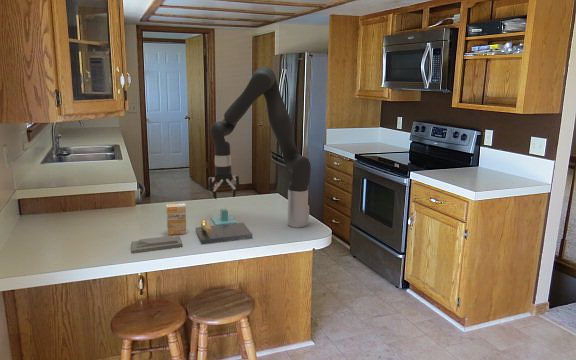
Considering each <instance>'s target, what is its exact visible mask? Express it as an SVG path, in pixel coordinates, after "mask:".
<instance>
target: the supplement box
mask: <svg viewBox="0 0 576 360" xmlns="http://www.w3.org/2000/svg"><path fill="white" fill-rule="evenodd" d="M186 208H187V207H186V203H184V202H183V203H167V204H166V228H167V230H166V231H167V236H174V235H175V236H176V235H186V234H187V211H186V210H187V209H186Z"/></svg>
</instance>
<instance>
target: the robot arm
mask: <svg viewBox="0 0 576 360" xmlns="http://www.w3.org/2000/svg"><path fill="white" fill-rule="evenodd" d="M262 95H263V96H264V99H265V102H266V112H267V118H268V123H269V125H270V127H271V130H272V131H273V134H274V136H275V139H276V141H277V144H278V146H279V148H280V151H281V153H282V158H283V162H284V164H285V165H284V166H285V167H286V169H287V170H288V172H289V173H291V181H290V182H289V183H288V185H287V225H288V226H289V227H291V228H305V227H307V226H309V225H310V205H309V204H308V203H309V201H308V199H309V185H310V182H311V171H312V170H311V169H312V167H311V166H312V165H311V161H310V159H309V158H308V157H306V156H304V155H302V154H300V152H299V150H298V147H297V146H296V143H295V131H294V129H295V128H294V125H293V122H292V119H291V116H290V114H289V112H288V109H287V107H286V104H285V102H284V99H283V97H282V94H281V92H280V88H279V84H278V81H277V77H276V73H275V72H274V70H273V69H272V68H270V67H269V66H265V65H264V66H263V65H262V66H260V67H259V68H257V69H256V70H255V71H254V72H253V74H252V75H251V78H250V80H249V82H248V83H247V85H246V86H245V88H244V90H243V91H242V92H241V93H240V95H239V96H238V97H237V98H236V99H235V100H234V101H233V102H232V103H231V105H230V106H229V107H228V108H227V109H226V111H225V112H224V114H223V118H224V119H222V120H221V121H215V122H214V123H212V125H211V126H210V135H211V140H212V142H213V145H214V171H215V173H214V174H215V175H214V177H213V176H212V177H211V176H209V177H208V190H209V191H210V192H211V191H212V197H213V198H214V199H215V200H217V190H218V188H219V187H223V186H230V188H231V197H232V198H235V197H236V195H237V191H236V190H237V189H239V188H240V179H239V178H240V177H239V175H238V174H235V175H233V174H232V158H231V144H230V143H229V142H228V141H226V138H225V137H227V136H229V135H230V134H232V133H233V131H234V130H235V128H236V126H237V125H238V122H239V121H240V120H241V119H242V118H243V117H244V115H245V114H246V113H247V112H248V110H249V109H250V108H251V106H252V105H253V104H254V103H255V101H257V99H258V98H260V97H261V96H262ZM232 180H234V182H235V184H233V183H232ZM214 182H215V183H214ZM213 183H214V185H213Z"/></svg>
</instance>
